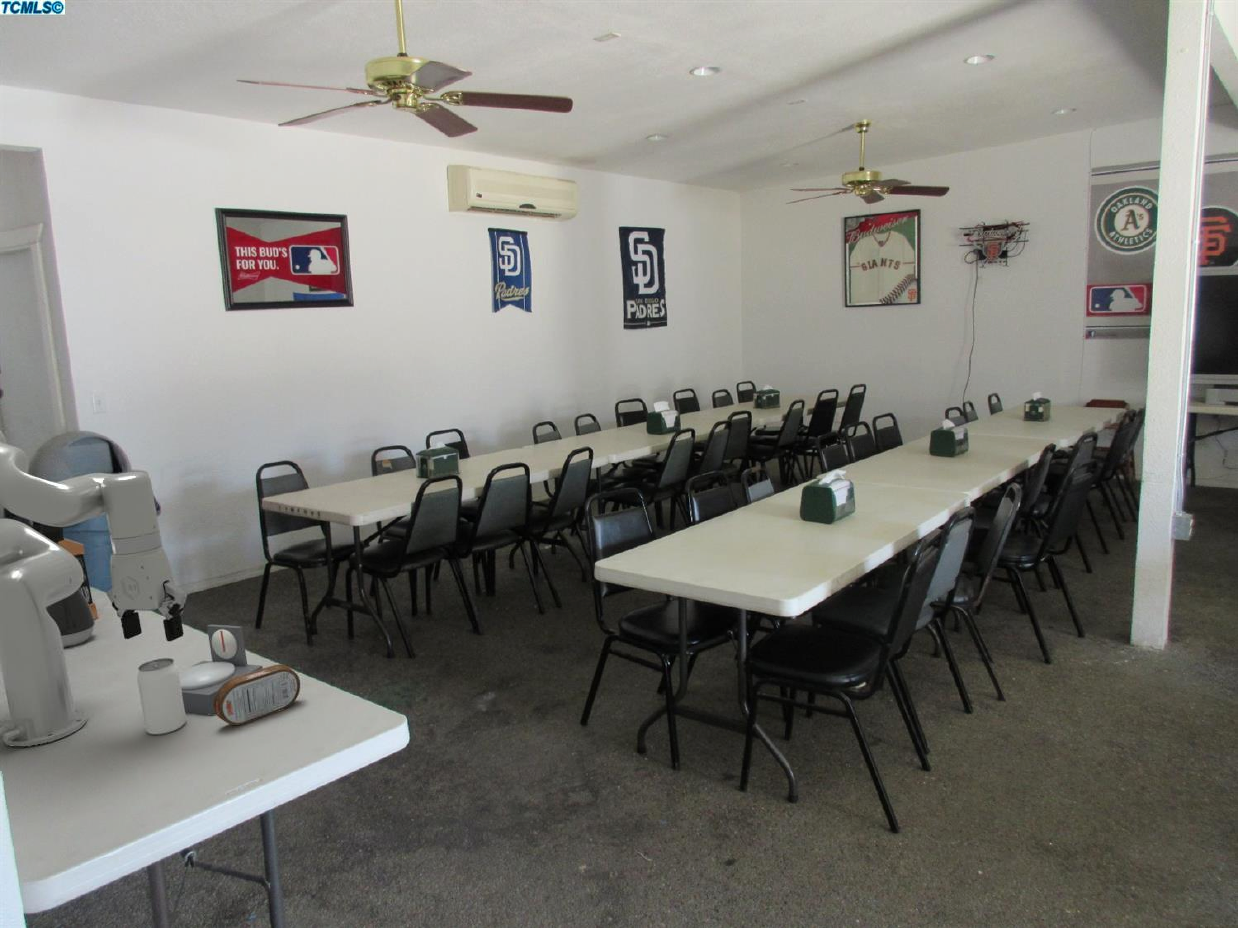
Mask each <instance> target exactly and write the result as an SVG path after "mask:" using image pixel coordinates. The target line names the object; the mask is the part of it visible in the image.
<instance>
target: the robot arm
mask: <svg viewBox="0 0 1238 928" xmlns="http://www.w3.org/2000/svg"><path fill="white" fill-rule="evenodd" d="M28 471H29V457H28V455H27V453H26V452H25V451H24V450H23V449H21V448H20V447H17V446H13V445H11V444H8V442H7V439H6V436H5V435H4V433H3V431H1V430H0V504H1V506H2V507H4V508H5V509H6V510H7V511H9V513H11V514H14V515H16V516H18V517H20V518H23V519H25V520H29V521H32V522H34V523H37V524H38V523H39V524H40V525H41V524H44V525H49V526H55V527H63V528H64V527H70V526H74V525H76V524H79V523H82V522H84V521H88V520H91V519H96V518H98V517H100V516H104V515H105V516H106V521H107V527H108V531H109V536H110V537H109V538H110V543H111V544H110V545H111V548H112V554H110V562H109V563H110V564H109V565H110V566H109V569H110V570H109V571H110V584H111V588H110V589H109V590H108V591H107V592H106V596H107V598H108V599H109V601H110V602H111V606H112V608H113V609H114V610H115V611H116V616H117V617H118V618H120V622H121V629H122V632H123V633H122V634H123V638H124V639H125V640H130V639H132V638H135V637H137V636H139V635H140V634H141V635H142V633H143V632H142V631H143V630H142V626H141V625H142V624H141V621H140V620H141V619H140V616H139V611H140V612H141V611H146V612H147V611H149V612H151V611H155V610H157V609H158V611H159V613H161V615H162V616H163V617H164V619H162V622H163V624H162V625H163V628H164V633H165V635H164V636H165V640H166V641H167V642H173V641H175V640H178V639H179V638H181V637H182V638H183V636H184V628H183V623H182V618H181V615H183V613H184V611H183V610H184V609H185V607H186V601H187V598H188V593H187V592H186V590H183V589H182V588H180V587H178V586H177V585H175V579H174V574H173V572H172V568H171V565H170V560H169V559H168V556H167V553H166V551H165V548H163V546H164V545H163V543H162V536H161V532H160V525H159V520H158V514H157V507H156V504H155V499H154V491H153V485H152V481H151V478H150V476H149V474H147V473H145V472H143V471H129V472H122V473H121V472H120V473H117V474H116V473H105V472H93V473H88V474H84V475H79V476H75V477H71V478H66V479H63V480H60V481H57V482H56V481H50V480H47V479H43V478H40V477H37V476H35V475H32V474H29V473H28ZM82 582H83V570H82V567H81V565H80V563H79V562H78V560H77V559H76V558H75V557H74V556H73V555H72V554H71V553H69V552H68V551H67V550H65V549H64V548H62V547H61V546H59V545H58V544H56V543H54V542H53V541H51V540H50V539H48V538H47V537H45V536H43V535H42V534H41V532H39V531H37V530H35V529H34V528H32V527H31V526H29V525H27V524H26V523H24V522H22V521H19V520H15V519H11V518H0V671H1V675H2V680H3V681H2V682H3V684H4V690H5V694H6V695H5V696H6V701H7V705H8V711H9V715H10V716H9V715H8V716H7V717H4V724H3V725H1V726H0V741H1V740H3V742H4V744H5V745H6V746H8V745H13V746H28V747H32V746H31V745H35V746H39V745H38V744H40V745H43V743H44V744H48V743H50V742H55V741H57V740H60V739H63V738H64V737H67V736H70V735H71V734H74V733H75V732H77V731H79V730H80V729H81V728H83V726H84V725H85V724H86V723H87V720H88V719H87V714H86V712H84V711H82V710H78V709H76V708H75V703H74V698H73V693H72V688H71V682H70V675H69V672H68V665H67V660H66V655H65V650H64V648H65V647H63V643H62V638H61V634H60V630H59V628H58V626H57V624H56V622H55V621H54V620H53V619H52V618H51V616H50V615H49V614H48V612H47V610H46V607H48V606H50V605H51V604H54V603H56V602H58V601H60V600H62V599H64V598H66V597H68V596H70V595H72V594H73V593H75V592H76V591H77V590H78V589H79V587H80V586H81V584H82ZM168 606H169V608H170V609H169V608H168ZM47 742H48V743H47Z"/></svg>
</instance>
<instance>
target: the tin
mask: <svg viewBox="0 0 1238 928" xmlns="http://www.w3.org/2000/svg"><path fill="white" fill-rule="evenodd" d="M262 668H263V667H262ZM300 691H301V680H300V677H299V674H297V673H296V672H295V671H294V670H293V669H292V668H291V667H290V666H287V665H285V664H282V663H281V664H280V663H279V664H274V665H270V666H267V667H264V668H263V669H260V670H257V671H254V672H250V673H247V674H244V675H241V676H237V677H234V678H232V679H230V680H228V681H227V682H225V683H224V684H223V685H222V686H221V687H220V688H219V690H218V691H217V693H216V695H215V698H214V703H213V706H214V711H215V713H216V714H215V715H216V716H217V717H218V718H220V720H222V721H223V722H225V723H226V724H229V725H231V726H232V725H233V726H241V725H245V724H248V723H251V722H254V721H256V720H259V719H261V717H262V718H265V717H267V716H270V715H273V714H276V713H278V712H277V711H279V710H282V709H284V710H286V709H287V707H288V708H289V707H290V706H292V705H293V703H295V701H296V700H297V699H298V696H299V694H300ZM285 708H286V709H285ZM282 711H283V710H282ZM275 712H276V713H275ZM279 712H280V711H279ZM272 713H273V714H272ZM269 714H270V715H269ZM264 716H265V717H264Z"/></svg>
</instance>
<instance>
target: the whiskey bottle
mask: <svg viewBox="0 0 1238 928" xmlns="http://www.w3.org/2000/svg"><path fill="white" fill-rule="evenodd" d="M40 534H42V535H43V536H45V537H47V538H48V539H50V540H51V541H53V542H54V543H56V544H58V545H59V546H61V547H62V548H64V549H65V550H67V551H68V552H69V553H71V554H72V555H73V556H74V557H75V558H76V559H77V560H78V562H79V563H80V565H81V567H82V570H83V582H82V584H81V586H80V587H79V590H80V591H81V592H82V594H83V595H84V597H85V598H86V600H87V602H88V604H89V606H90V608H91V611H92V614H93V617H94V620H97V619H99V615H98V610H97V607H96V602H93V597H92V592H91V588H90V587H91V586H90V581H89V576H88V572H87V570H88V569H87V566H86V562H85V556H84V554H85V548H84V546H85V545H84V544H83V543H82V542H79V541H74V540H71V539H68V538H66V537H65V536H64V527H55V526H49V525H44V524H41V523H40Z"/></svg>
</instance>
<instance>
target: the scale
mask: <svg viewBox="0 0 1238 928" xmlns="http://www.w3.org/2000/svg"><path fill="white" fill-rule="evenodd" d="M206 628H207V636H208V642H209V648H210V654H211V661H210V660H202V661H200V662H198V663H196V664H193V665H191V666H189V667H187V668H185V669H183V670H180V671H178V673H179V679H180V685H181V691H182V697H183V704H184V710H185V714H186V713H188V714H195V713H196V715H197V714H198V715H204V714H210V715H209V716H214V715H216V713H215V711H214V706H213V703H214V698H215V695H216V693H217V691H218V690H219V688H220V687H221V686H222V685H223V684H224V683H225V682H227V681H228V680H230V679H232V678H234V677H237V676H241V675H244V674H247V673H250V672H254V671H257V670H260V669H263V665H259V664H258V665H257V664H248V662H247V653H246V646H245V640H244V633H243V626H238V625H236V626H235V625H223V624H208V625H206ZM213 714H214V715H213Z"/></svg>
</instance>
